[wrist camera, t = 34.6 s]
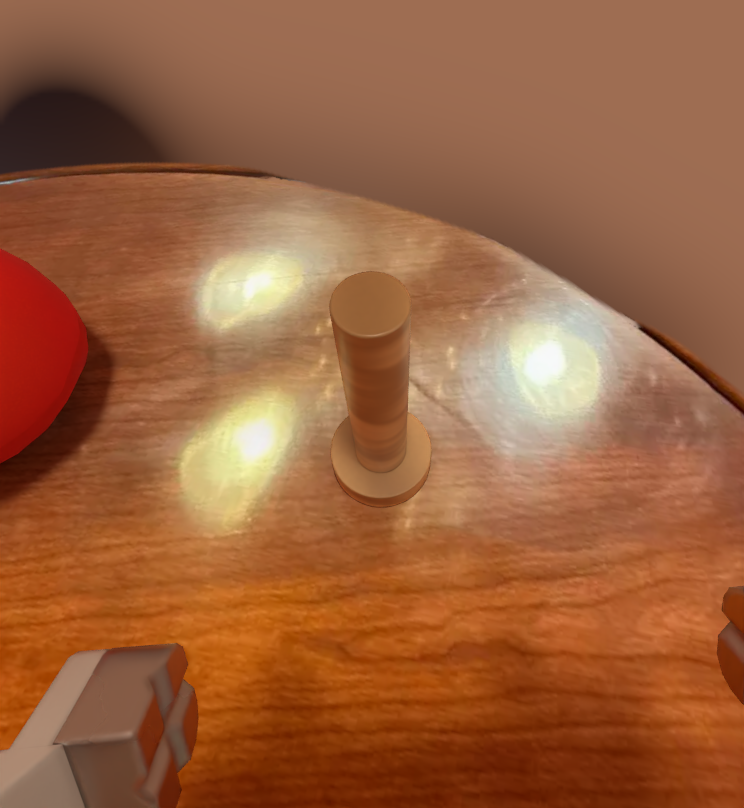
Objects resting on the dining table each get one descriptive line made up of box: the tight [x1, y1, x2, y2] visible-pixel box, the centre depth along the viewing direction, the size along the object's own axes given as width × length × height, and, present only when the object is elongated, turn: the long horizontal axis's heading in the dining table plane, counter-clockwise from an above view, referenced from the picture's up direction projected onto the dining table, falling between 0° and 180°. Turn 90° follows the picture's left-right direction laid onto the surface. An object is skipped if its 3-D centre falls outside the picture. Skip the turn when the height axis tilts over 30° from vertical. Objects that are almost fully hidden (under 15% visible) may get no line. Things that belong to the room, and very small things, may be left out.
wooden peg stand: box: [329, 271, 432, 507], centre depth 24 cm, size 5×5×14 cm
